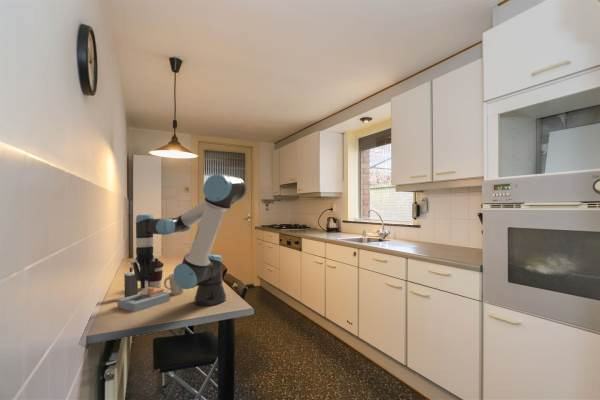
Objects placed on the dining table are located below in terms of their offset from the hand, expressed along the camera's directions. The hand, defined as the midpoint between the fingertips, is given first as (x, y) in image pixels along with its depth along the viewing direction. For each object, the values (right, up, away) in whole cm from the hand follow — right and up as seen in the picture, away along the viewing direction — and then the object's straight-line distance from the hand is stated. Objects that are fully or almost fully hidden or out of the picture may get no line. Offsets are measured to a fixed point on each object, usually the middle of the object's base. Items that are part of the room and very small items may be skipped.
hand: (145, 294), depth 151 cm
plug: (-12, -5, +10) cm, 17 cm away
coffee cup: (-9, -5, +29) cm, 31 cm away
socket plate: (0, -5, 0) cm, 5 cm away
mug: (+7, -5, +18) cm, 19 cm away
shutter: (+2, -1, +4) cm, 4 cm away
